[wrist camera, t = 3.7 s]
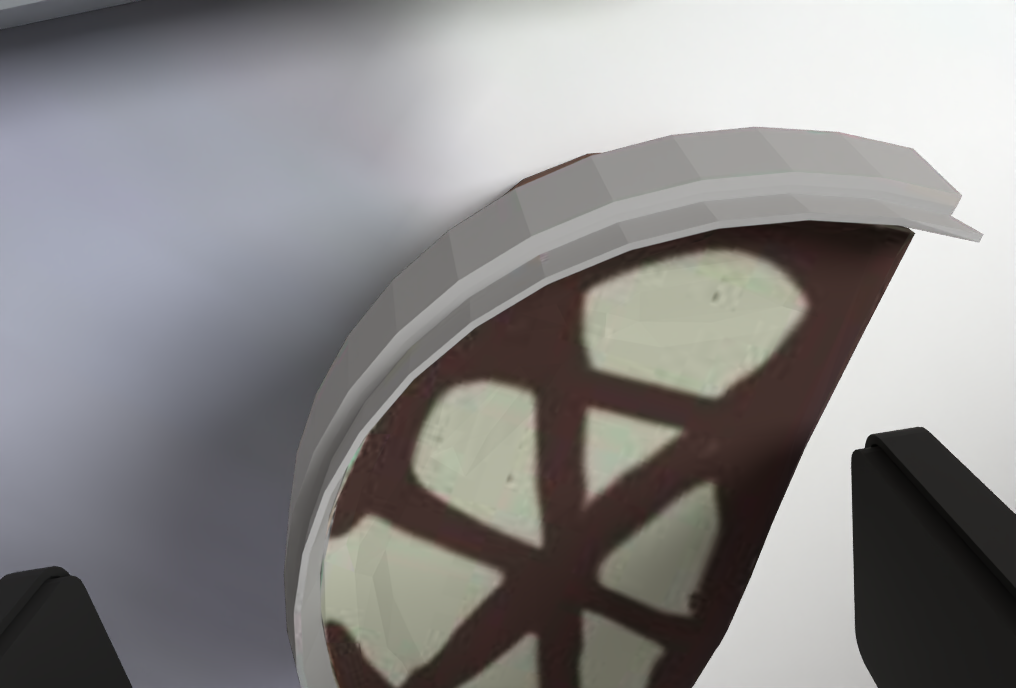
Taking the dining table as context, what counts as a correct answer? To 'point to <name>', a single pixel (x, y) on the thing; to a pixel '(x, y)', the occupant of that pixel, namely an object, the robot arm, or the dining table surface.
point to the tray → (47, 9)
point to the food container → (590, 412)
